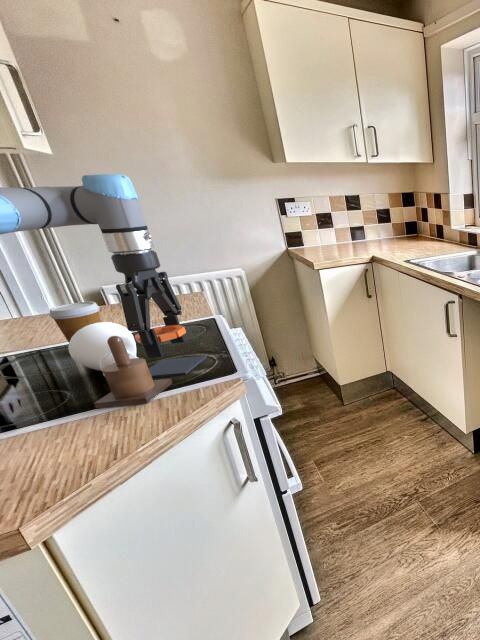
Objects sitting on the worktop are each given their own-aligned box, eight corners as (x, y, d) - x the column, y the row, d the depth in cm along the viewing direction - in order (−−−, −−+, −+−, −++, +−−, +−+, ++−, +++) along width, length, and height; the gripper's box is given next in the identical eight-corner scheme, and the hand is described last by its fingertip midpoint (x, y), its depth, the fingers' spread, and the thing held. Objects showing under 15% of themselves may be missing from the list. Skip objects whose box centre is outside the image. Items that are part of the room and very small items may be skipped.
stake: (96, 408, 82) (68, 346, 77) (126, 387, 90) (103, 330, 86) (147, 403, 84) (123, 342, 79) (172, 383, 92) (152, 326, 87)
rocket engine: (126, 340, 88) (94, 312, 96) (82, 387, 84) (53, 354, 93) (178, 363, 97) (146, 336, 106) (141, 406, 94) (110, 375, 102)
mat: (136, 379, 95) (136, 377, 94) (162, 361, 104) (161, 359, 104) (186, 374, 96) (185, 372, 96) (207, 357, 105) (206, 355, 105)
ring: (129, 345, 92) (126, 339, 92) (152, 332, 100) (150, 326, 100) (172, 341, 94) (170, 335, 93) (192, 329, 102) (190, 323, 101)
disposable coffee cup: (68, 348, 114) (49, 306, 110) (115, 339, 120) (98, 299, 115) (64, 358, 107) (43, 313, 103) (113, 349, 113) (96, 306, 108)
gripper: (119, 259, 81) (159, 366, 89) (179, 243, 100) (207, 332, 109) (74, 261, 80) (119, 369, 88) (144, 245, 99) (175, 335, 107)
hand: (167, 349), depth 98 cm, fingers closed on ring, 9 cm apart
